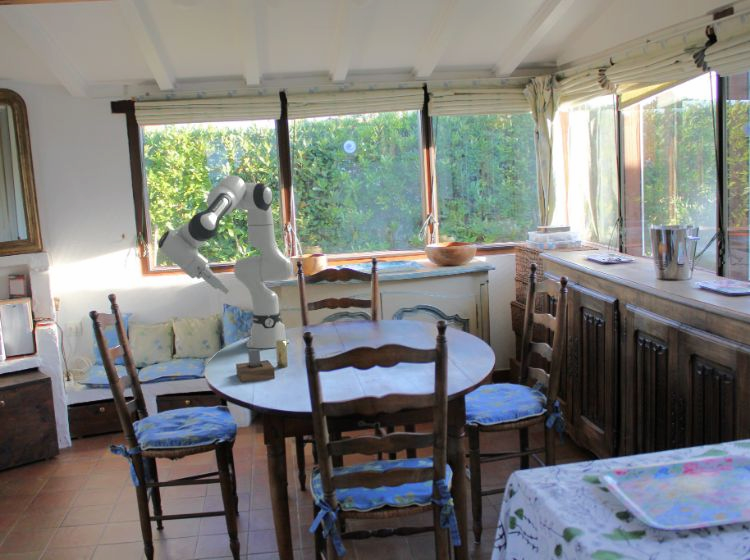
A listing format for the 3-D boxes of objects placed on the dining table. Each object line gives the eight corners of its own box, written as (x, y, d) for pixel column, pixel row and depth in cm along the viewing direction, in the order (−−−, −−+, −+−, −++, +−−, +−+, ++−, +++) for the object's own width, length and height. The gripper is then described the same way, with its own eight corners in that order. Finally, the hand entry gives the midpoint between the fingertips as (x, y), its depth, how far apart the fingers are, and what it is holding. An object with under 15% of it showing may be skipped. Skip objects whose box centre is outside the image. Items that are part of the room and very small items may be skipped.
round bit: (276, 365, 280) (274, 340, 278) (286, 364, 281) (285, 339, 280) (278, 368, 276) (277, 342, 274) (288, 367, 277) (287, 341, 276)
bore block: (236, 374, 270) (236, 363, 269) (268, 370, 274) (267, 360, 273) (241, 382, 259) (241, 371, 258) (274, 378, 262) (274, 367, 262)
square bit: (249, 375, 267) (248, 349, 266) (259, 374, 268) (257, 348, 267) (251, 378, 264) (249, 351, 262) (261, 376, 265) (259, 350, 264)
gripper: (205, 262, 255) (235, 287, 259) (199, 257, 274) (227, 280, 278) (193, 276, 254) (223, 301, 258) (188, 269, 273) (216, 293, 277)
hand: (225, 290), depth 268 cm, fingers open, 8 cm apart
